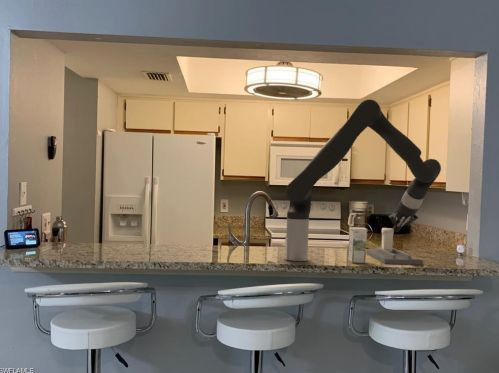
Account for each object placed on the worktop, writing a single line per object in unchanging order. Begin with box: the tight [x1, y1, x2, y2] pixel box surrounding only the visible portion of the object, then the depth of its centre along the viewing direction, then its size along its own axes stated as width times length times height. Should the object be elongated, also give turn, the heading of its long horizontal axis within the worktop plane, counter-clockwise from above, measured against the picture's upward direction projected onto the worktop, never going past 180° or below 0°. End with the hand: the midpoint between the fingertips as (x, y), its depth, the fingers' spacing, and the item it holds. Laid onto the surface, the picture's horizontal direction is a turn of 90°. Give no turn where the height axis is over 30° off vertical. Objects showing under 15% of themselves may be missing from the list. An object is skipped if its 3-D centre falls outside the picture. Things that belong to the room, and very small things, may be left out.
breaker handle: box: [381, 227, 395, 252], centre depth 187 cm, size 4×3×11 cm
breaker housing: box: [366, 246, 424, 266], centre depth 180 cm, size 16×24×4 cm, turn 2°
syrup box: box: [347, 226, 368, 264], centre depth 170 cm, size 6×6×14 cm
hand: (395, 230), depth 175 cm, fingers closed
